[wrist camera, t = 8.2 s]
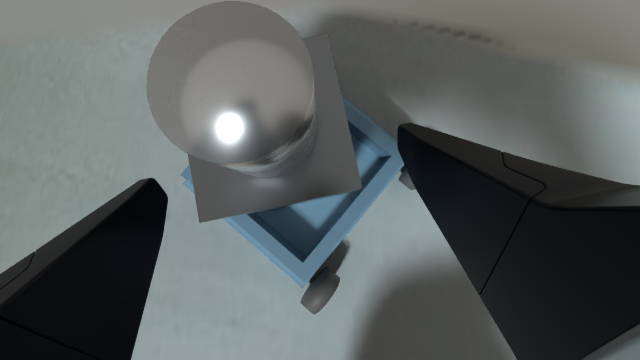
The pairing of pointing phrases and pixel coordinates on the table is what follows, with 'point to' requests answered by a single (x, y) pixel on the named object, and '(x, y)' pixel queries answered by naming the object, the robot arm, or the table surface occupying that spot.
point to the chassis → (323, 213)
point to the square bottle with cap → (251, 110)
